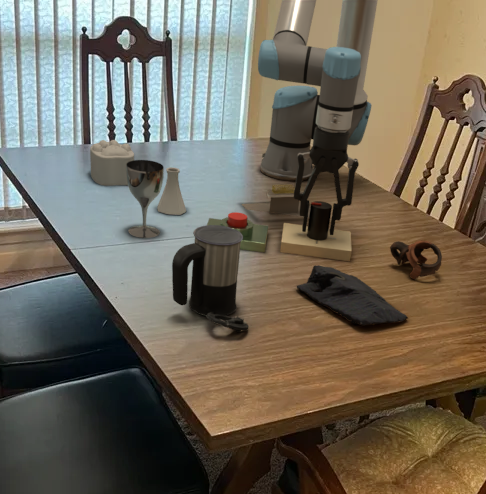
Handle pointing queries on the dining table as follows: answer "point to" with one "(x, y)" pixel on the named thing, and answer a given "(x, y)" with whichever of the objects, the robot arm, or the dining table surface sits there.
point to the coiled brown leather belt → (416, 257)
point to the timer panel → (316, 243)
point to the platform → (279, 202)
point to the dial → (319, 220)
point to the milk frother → (210, 274)
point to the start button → (237, 219)
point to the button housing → (247, 234)
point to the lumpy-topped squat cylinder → (110, 162)
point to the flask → (172, 195)
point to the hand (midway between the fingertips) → (317, 231)
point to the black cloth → (349, 297)
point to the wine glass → (144, 190)
